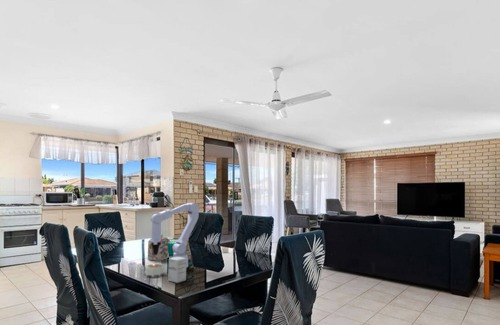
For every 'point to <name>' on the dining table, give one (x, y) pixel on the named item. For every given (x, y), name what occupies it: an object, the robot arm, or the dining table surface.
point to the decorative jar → (159, 250)
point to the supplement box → (177, 269)
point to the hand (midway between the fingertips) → (155, 254)
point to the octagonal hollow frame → (154, 270)
